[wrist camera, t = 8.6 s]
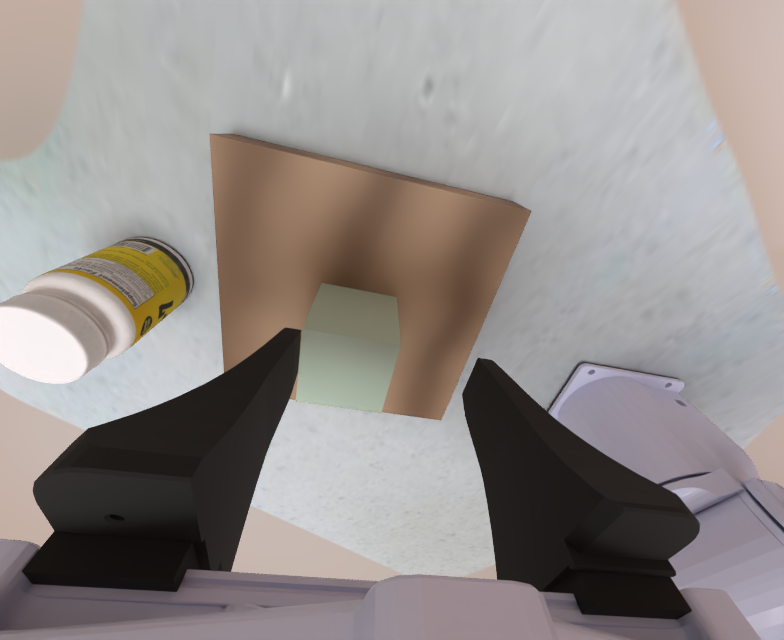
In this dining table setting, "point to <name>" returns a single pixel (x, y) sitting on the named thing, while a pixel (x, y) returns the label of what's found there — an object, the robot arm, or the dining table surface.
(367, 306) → the sage block
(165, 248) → the supplement bottle
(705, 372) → the dining table surface
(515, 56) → the dining table surface
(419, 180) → the walnut base
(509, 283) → the dining table surface
